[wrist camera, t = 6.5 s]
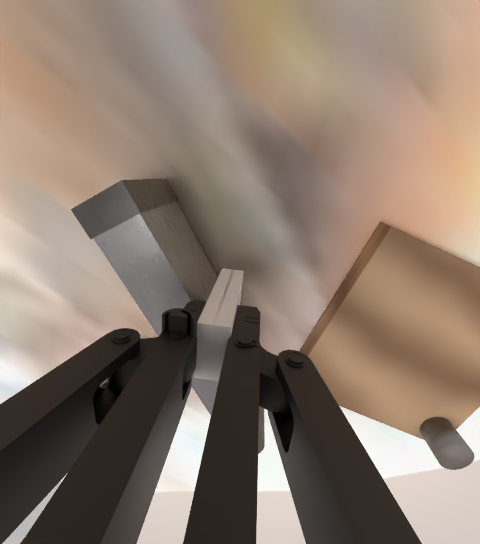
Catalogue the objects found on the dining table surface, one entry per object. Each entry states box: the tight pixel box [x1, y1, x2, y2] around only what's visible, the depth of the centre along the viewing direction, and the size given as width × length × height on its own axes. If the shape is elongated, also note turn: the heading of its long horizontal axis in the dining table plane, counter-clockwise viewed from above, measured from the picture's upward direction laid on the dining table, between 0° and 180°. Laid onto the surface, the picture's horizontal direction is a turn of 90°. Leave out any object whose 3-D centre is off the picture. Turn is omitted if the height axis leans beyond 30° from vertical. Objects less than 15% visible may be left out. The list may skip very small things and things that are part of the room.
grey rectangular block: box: [71, 179, 219, 415], centre depth 17 cm, size 14×3×6 cm, turn 26°
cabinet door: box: [258, 223, 480, 470], centre depth 18 cm, size 16×18×7 cm
